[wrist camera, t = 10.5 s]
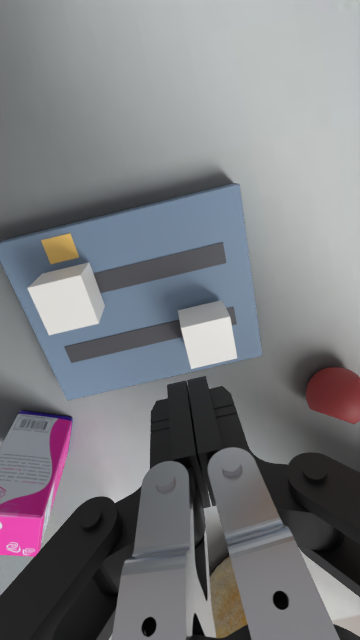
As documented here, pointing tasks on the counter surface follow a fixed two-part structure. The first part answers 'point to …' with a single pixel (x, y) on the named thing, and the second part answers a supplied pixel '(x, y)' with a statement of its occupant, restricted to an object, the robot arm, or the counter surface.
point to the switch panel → (142, 287)
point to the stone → (226, 600)
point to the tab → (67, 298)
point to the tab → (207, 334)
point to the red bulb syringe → (335, 393)
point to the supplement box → (30, 478)
